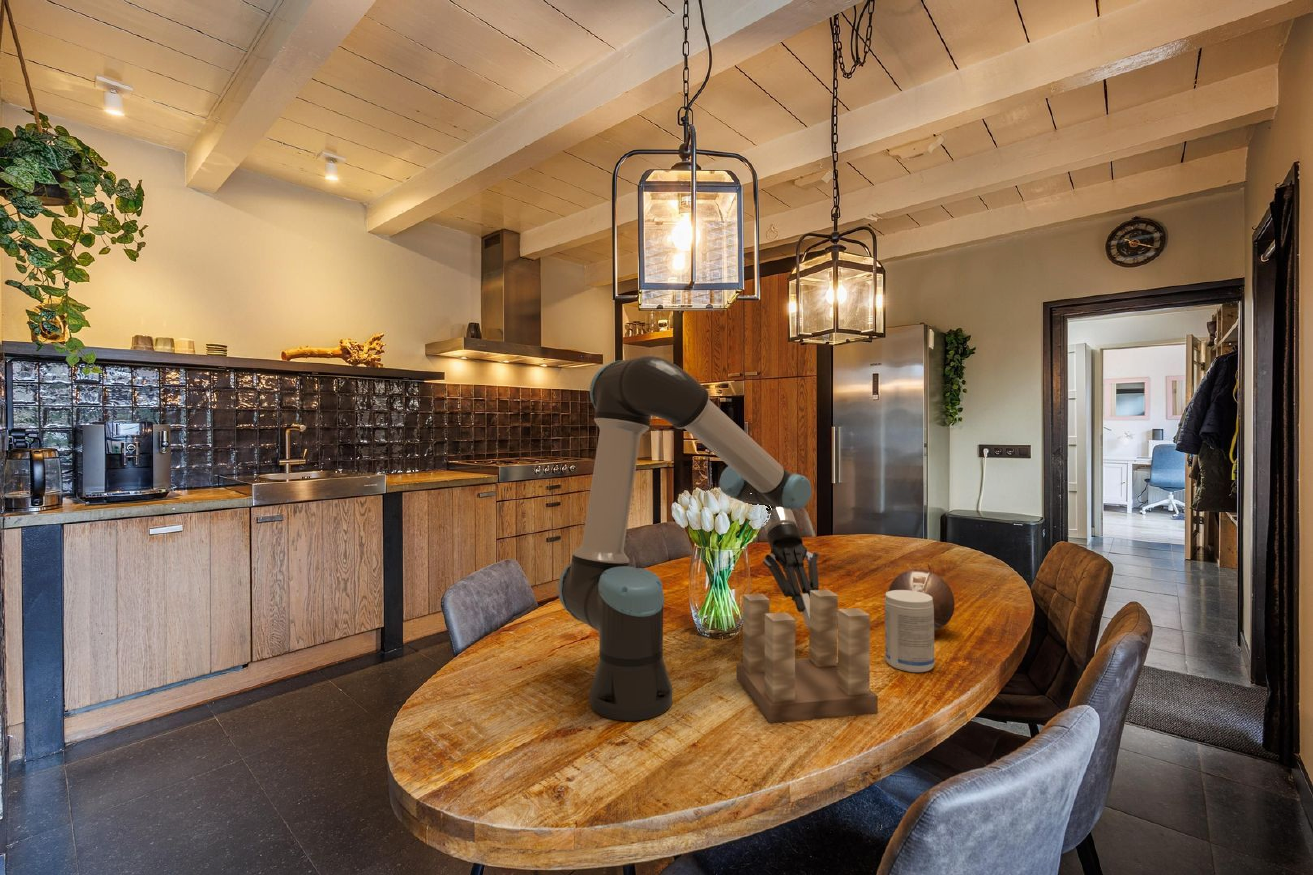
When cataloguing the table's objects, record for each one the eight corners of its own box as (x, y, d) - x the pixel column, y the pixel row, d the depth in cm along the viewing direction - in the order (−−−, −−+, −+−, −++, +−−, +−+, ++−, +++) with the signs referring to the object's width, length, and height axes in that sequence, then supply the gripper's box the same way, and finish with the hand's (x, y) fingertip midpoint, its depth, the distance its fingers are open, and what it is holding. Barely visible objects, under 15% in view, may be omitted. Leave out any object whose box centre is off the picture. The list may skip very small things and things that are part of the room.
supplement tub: (943, 667, 122) (944, 597, 122) (916, 678, 117) (917, 604, 116) (901, 652, 130) (902, 586, 130) (874, 661, 125) (875, 593, 124)
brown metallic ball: (892, 639, 138) (892, 575, 138) (883, 618, 153) (883, 561, 153) (961, 644, 135) (962, 579, 134) (945, 623, 149) (946, 564, 149)
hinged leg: (817, 667, 114) (818, 596, 114) (808, 657, 119) (809, 589, 118) (836, 665, 115) (837, 595, 114) (826, 656, 119) (827, 588, 119)
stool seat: (769, 722, 99) (769, 623, 99) (736, 677, 117) (736, 593, 116) (877, 712, 102) (878, 616, 102) (829, 670, 120) (830, 588, 120)
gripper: (803, 539, 142) (835, 631, 126) (752, 541, 140) (777, 634, 124) (812, 521, 137) (847, 614, 121) (759, 522, 135) (787, 618, 118)
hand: (811, 624), depth 122 cm, fingers closed
